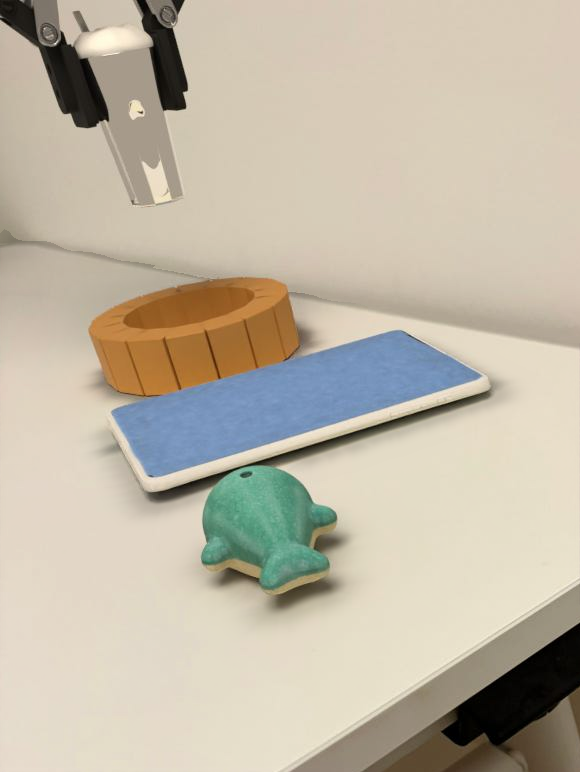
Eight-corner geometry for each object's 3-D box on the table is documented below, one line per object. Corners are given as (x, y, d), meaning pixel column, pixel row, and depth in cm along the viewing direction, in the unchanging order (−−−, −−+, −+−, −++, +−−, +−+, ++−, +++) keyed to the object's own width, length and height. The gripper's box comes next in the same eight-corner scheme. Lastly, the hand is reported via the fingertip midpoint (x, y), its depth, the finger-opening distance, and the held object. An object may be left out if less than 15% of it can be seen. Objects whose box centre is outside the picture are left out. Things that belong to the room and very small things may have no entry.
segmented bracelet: (86, 365, 65) (67, 316, 62) (254, 315, 70) (242, 267, 68) (142, 412, 55) (122, 355, 53) (331, 350, 61) (319, 296, 59)
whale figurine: (319, 511, 42) (299, 434, 40) (373, 582, 36) (353, 496, 34) (194, 551, 40) (165, 473, 38) (230, 632, 35) (200, 545, 32)
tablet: (406, 343, 60) (402, 323, 59) (499, 396, 50) (496, 373, 50) (109, 430, 54) (101, 409, 53) (152, 509, 44) (143, 484, 43)
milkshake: (167, 190, 60) (111, 5, 54) (209, 194, 56) (155, -3, 50) (104, 207, 57) (38, 16, 51) (144, 212, 54) (78, 9, 48)
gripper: (145, -296, 49) (238, 92, 60) (-203, -293, 43) (-28, 143, 53) (192, -342, 44) (286, 93, 55) (-196, -346, 37) (-3, 150, 48)
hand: (130, 114), depth 54 cm, fingers closed on milkshake, 4 cm apart
